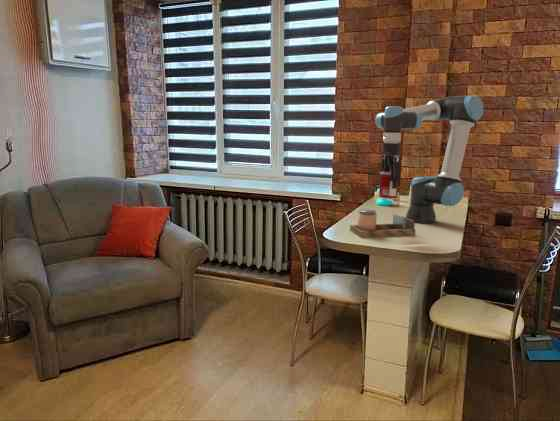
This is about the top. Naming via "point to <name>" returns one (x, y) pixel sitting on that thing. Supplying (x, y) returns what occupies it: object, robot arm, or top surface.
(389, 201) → the donuts
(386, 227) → the wooden box
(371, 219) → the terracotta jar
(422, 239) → the top surface
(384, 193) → the canned food
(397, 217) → the bar
